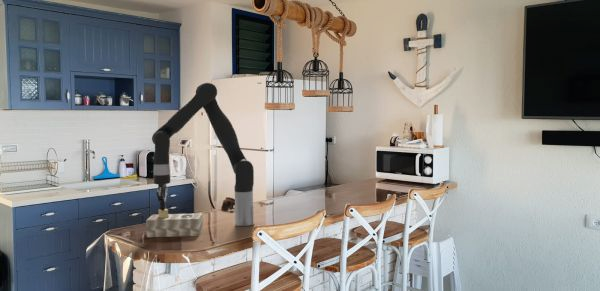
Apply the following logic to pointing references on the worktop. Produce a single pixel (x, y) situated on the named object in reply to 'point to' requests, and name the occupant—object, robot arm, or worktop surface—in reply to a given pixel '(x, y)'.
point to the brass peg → (163, 213)
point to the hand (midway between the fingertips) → (163, 209)
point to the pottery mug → (228, 204)
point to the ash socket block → (174, 225)
